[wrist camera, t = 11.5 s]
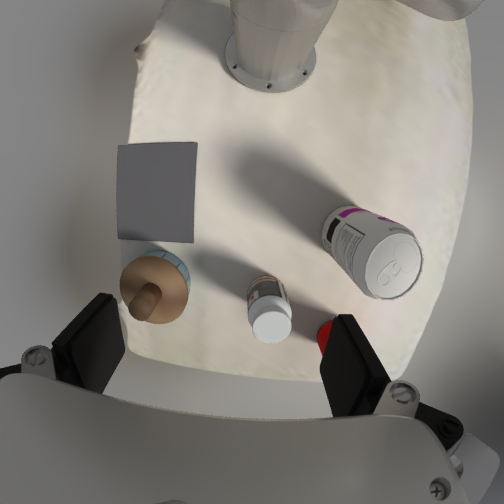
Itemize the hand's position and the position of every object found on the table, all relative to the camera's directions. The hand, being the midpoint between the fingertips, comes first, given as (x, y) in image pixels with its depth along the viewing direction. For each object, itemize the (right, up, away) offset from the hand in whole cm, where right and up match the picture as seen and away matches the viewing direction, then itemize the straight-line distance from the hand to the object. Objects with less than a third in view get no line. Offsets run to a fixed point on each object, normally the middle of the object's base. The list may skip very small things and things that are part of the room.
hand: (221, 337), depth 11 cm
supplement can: (+15, +6, +27) cm, 32 cm away
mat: (-13, +12, +25) cm, 31 cm away
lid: (-12, -2, +25) cm, 28 cm away
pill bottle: (+3, -2, +30) cm, 30 cm away
